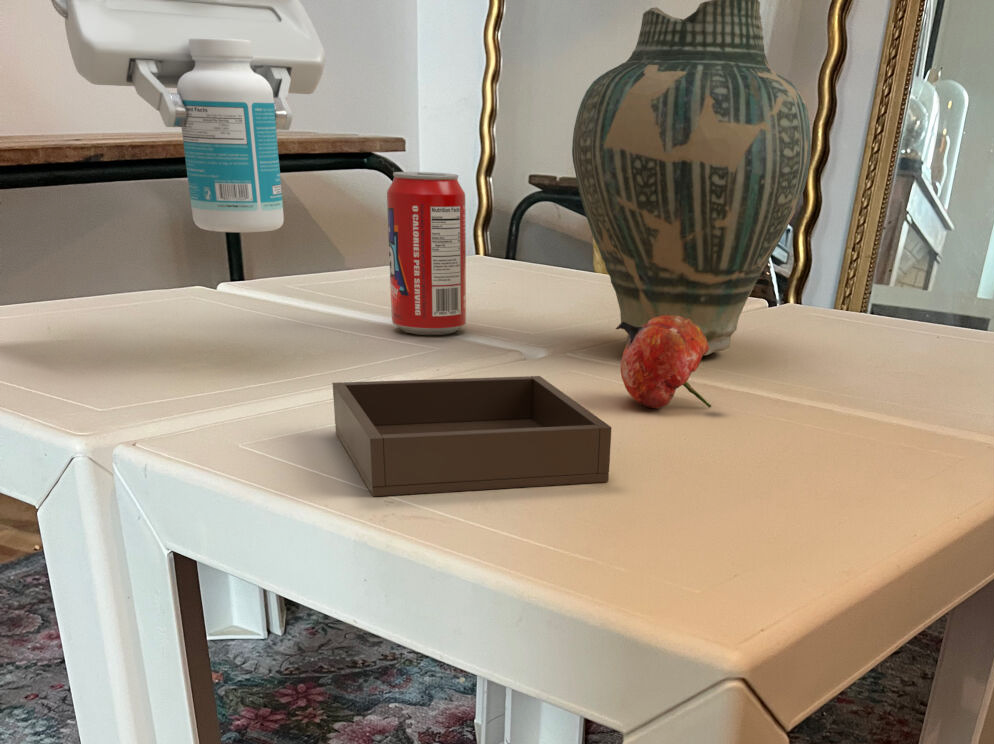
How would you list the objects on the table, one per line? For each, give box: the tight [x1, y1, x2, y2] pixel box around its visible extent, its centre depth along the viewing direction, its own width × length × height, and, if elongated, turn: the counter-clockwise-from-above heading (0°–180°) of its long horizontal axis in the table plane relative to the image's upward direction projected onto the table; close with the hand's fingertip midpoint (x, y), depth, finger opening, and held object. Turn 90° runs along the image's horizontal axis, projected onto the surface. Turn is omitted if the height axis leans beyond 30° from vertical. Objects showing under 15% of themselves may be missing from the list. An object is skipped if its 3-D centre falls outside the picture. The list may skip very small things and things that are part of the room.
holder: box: [332, 375, 613, 497], centre depth 77 cm, size 16×16×4 cm
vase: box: [571, 0, 812, 356], centre depth 106 cm, size 22×22×30 cm
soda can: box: [386, 171, 467, 336], centre depth 116 cm, size 8×8×15 cm
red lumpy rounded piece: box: [615, 315, 712, 409], centre depth 92 cm, size 7×7×10 cm
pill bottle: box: [176, 38, 285, 233], centre depth 91 cm, size 8×7×14 cm
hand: (232, 122), depth 90 cm, fingers closed on pill bottle, 7 cm apart
